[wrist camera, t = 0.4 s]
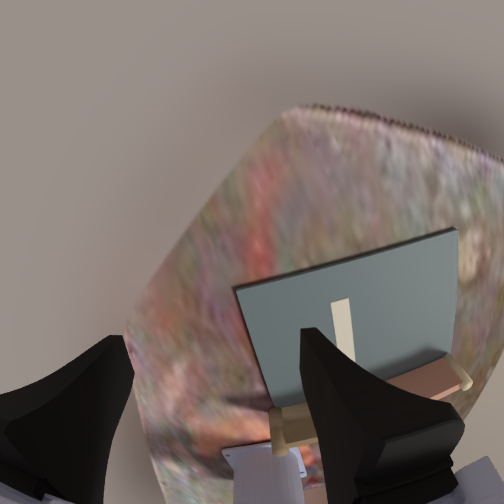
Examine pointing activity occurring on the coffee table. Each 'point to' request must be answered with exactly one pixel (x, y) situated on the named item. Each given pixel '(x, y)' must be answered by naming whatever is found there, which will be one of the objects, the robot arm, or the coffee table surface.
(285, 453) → the fence frame
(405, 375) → the fence panel
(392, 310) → the card
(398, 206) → the coffee table surface
